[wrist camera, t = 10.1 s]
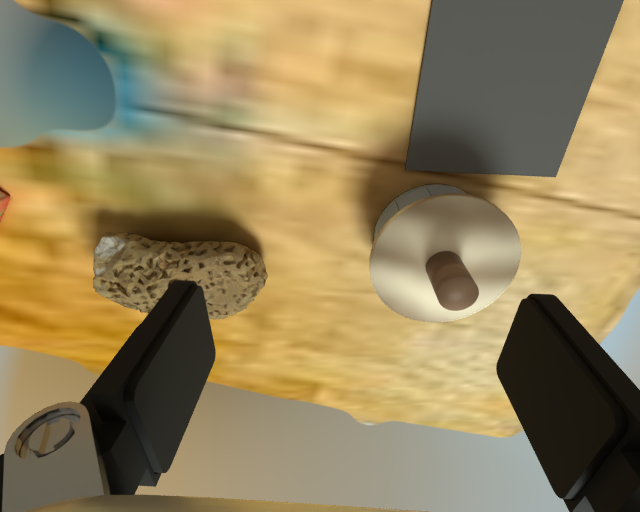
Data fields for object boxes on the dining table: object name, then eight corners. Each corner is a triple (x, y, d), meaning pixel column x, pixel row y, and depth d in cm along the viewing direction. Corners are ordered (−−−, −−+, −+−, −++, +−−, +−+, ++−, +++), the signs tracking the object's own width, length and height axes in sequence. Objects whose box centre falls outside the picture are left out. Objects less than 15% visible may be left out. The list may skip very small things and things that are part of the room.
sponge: (125, 281, 49) (252, 336, 47) (78, 303, 41) (227, 369, 40) (140, 194, 45) (281, 251, 43) (91, 201, 37) (259, 270, 36)
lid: (377, 189, 33) (385, 214, 27) (538, 196, 32) (576, 223, 27) (363, 313, 40) (366, 350, 35) (492, 320, 40) (516, 359, 34)
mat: (434, -16, 29) (435, -17, 29) (624, -10, 29) (627, -11, 29) (405, 168, 37) (405, 170, 37) (553, 176, 37) (555, 177, 37)
